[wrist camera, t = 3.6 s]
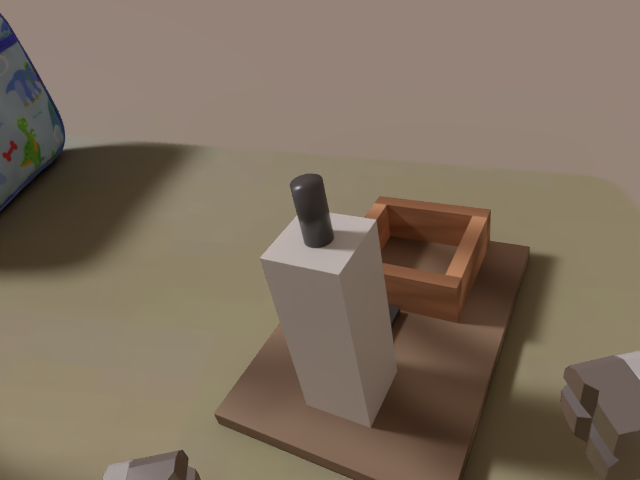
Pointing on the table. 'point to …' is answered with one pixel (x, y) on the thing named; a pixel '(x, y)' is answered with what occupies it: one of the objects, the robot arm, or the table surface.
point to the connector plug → (333, 305)
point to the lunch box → (24, 119)
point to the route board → (403, 353)
